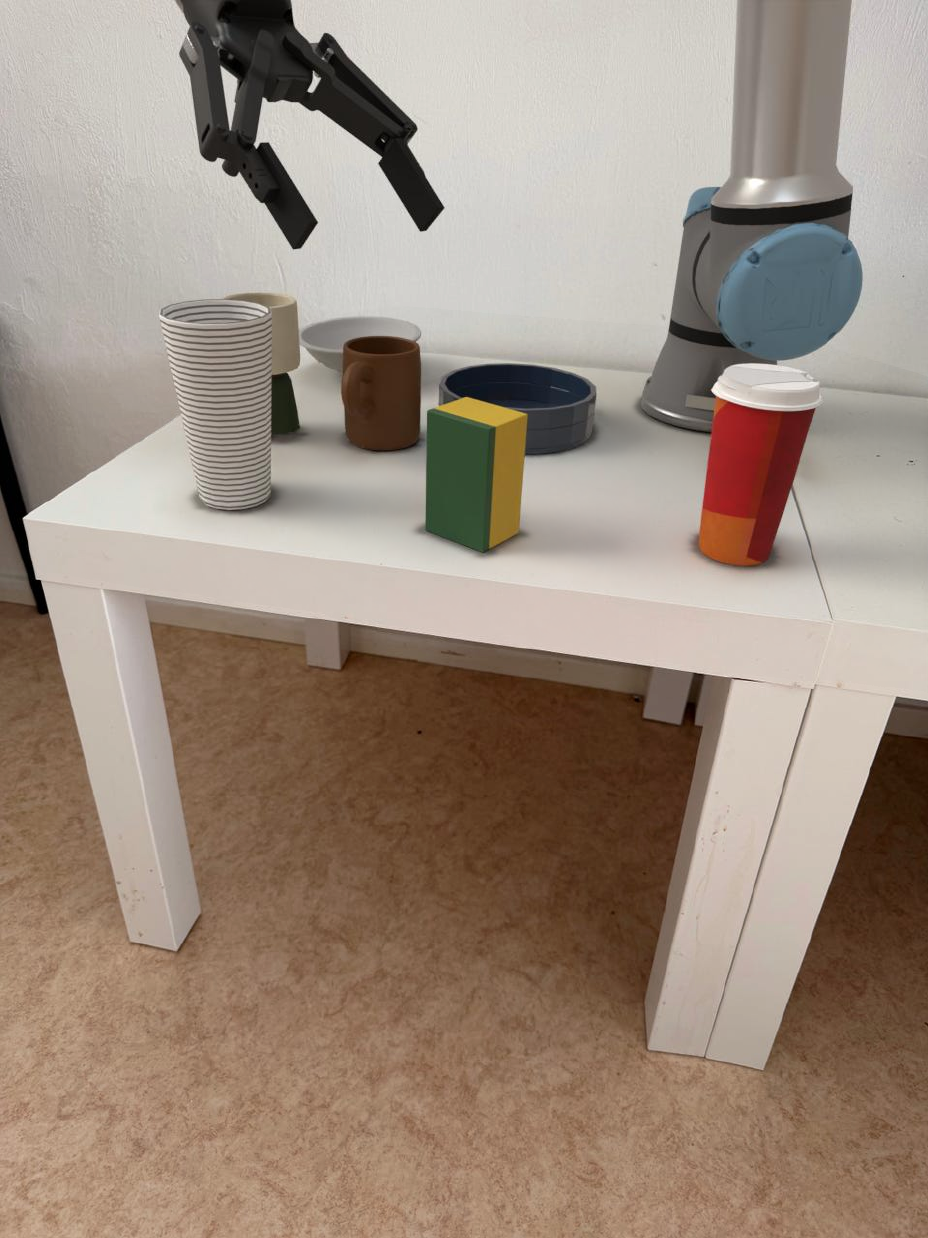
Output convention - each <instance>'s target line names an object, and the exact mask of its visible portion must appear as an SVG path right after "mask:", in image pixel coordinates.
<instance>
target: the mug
mask: <svg viewBox="0 0 928 1238" xmlns="http://www.w3.org/2000/svg"><path fill="white" fill-rule="evenodd" d="M421 358H422V357H421V347H420V344H419V343H418V342H417V341H416V342H415V341H412V340H409V339H406V338H401V337H393V336H366V337H359V338H354V339H351V340H349V341H347V342H345V343H344V346H343V362H342V369H343V372H342V379H341V385H340V394H341V401H342V404H343V412H344V413H343V414H344V415H343V416H344V431H345V436H346V438H347V440H348V441H349V442H350V443H351V444H352V445H354V446H356V447H358V448H361V449H364V450H365V449H366V450H370V451H384V452H385V451H397V450H402V449H405V448H408V447H410V446H412V445H414V444H415V443H416V442H417V441H418V440H419V438H420V434H421V410H422V359H421Z"/></svg>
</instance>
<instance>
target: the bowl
mask: <svg viewBox="0 0 928 1238" xmlns="http://www.w3.org/2000/svg"><path fill="white" fill-rule="evenodd" d="M597 395H598V394H597V386H596V385H595V384H594V383H593V382H592V381H590V380H589V379H588V378H586V377H584V376H581V375H579V374H576V373H575V372H572V371H567V370H564V369H560V368H556V367H551V366H544V365H539V364H538V365H537V364H532V363H531V364H530V363H529V364H527V363H516V362H515V363H514V362H513V363H510V362H506V363H505V362H504V363H503V362H502V363H500V362H499V363H483V364H482V363H481V364H476V365H467V366H463V367H459V368H457V369H453V370H451V371H449V372H447V373H446V374H444V375H442V376H441V377H440V381H439V382H438V406H437V407H439V406H441V405H444V404H447V403H450V402H453V401H456V400H459V399H462V398H464V397H469V398H472V399H476V400H479V401H483V402H487V403H490V404H494V405H497V406H501V407H504V408H508V409H511V410H515V411H518V412H522V413H525V414H527V415H528V416H527V429H526V443H525V455H542V454H543V455H544V454H552V453H553V454H554V453H560V452H563V451H569V450H571V449H574V448H577V447H579V446H581V445H583V444H585V443H586V442H587V441H588V440H589V439H590V437H591V436H592V432H593V429H594V420H595V410H596V402H597Z"/></svg>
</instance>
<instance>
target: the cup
mask: <svg viewBox="0 0 928 1238" xmlns="http://www.w3.org/2000/svg"><path fill="white" fill-rule="evenodd" d="M158 313H159V314H158V316H159V321H160V326H161V331H162V335H163V339H164V344H165V349H166V353H167V358H168V362H169V367H170V371H171V375H172V380H173V385H174V389H175V393H176V398H177V402H178V407H179V411H180V417H181V420H182V421H181V422H182V425H183V430H184V434H185V438H186V439H185V440H186V443H187V447H188V448H187V449H188V452H189V457H190V461H191V465H192V470H193V474H194V475H193V476H194V480H195V484H196V488H197V493H198V496H199V497H198V498H199V500H200V501H201V502H202V503H203V504H204V505H205V506H207V507H211V508H213V509H216V510H227V511H233V510H235V511H236V510H245V509H250V508H254V507H257V506H260V505H262V504H263V503H265V502H267V500H268V499H269V498H270V497H271V496H272V495H271V494H272V487H271V486H272V435H271V365H272V312H271V309H270V308H269V307H267V306H265V305H263V304H261V303H256V302H251V301H245V300H232V299H222V298H211V299H210V298H206V299H205V298H204V299H195V300H185V301H181V302H175V303H172V304H168V305H166V306H165V307H162V308H161V309H160V310H159V312H158Z"/></svg>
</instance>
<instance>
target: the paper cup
mask: <svg viewBox="0 0 928 1238" xmlns="http://www.w3.org/2000/svg"><path fill="white" fill-rule="evenodd" d="M820 388H821V383H820V381H818V380H817V379H816V378H814V377H813V376H812V375H811V374H809V372H807V371H804V370H801V369H797V368H794V367H790V366H785V365H784V366H783V365H778V364H777V365H771V364H756V363H749V364H737V365H732V366H730V367H728V368H726V369H725V370H724V373H723V375H722V376H720V377H719V378H718V381H717V382H716V383H715V385H714V386H713V388H712V389H711V391H712V392H713V393H714V394H715V395H716V401H715V409H714V417H713V425H712V432H710V433H711V434H710V440H709V441H710V442H709V449H708V450H709V451H708V457H707V465H706V473H705V482H704V490H703V497H702V506H701V514H700V522H699V523H700V524H699V532H698V548H699V550H700V552H701V553H702V554H703V555H704V556H706V557H707V558H709V559H712V560H714V561H716V562H719V563H721V564H725V565H731V566H739V567H749V566H757V565H760V564H762V563H765V562H766V561H767V560H768V559H769V557H770V555H771V552H772V549H773V546H774V544H775V540H776V537H777V534H778V532H779V528H780V525H781V522H782V519H783V515H784V514H785V513H784V512H785V509H786V506H787V502H788V501H789V500H788V499H789V496H790V493H791V490H792V487H793V484H794V481H795V478H796V475H797V471H798V468H799V464H800V462H801V458H802V454H803V452H804V448H805V444H806V441H807V437H808V435H809V431H810V428H811V425H812V421H813V419H814V416H815V412H816V408H818V407H820V406H821V405H822V404H823V397H822V394H821V393H820V391H821V390H820Z"/></svg>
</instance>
